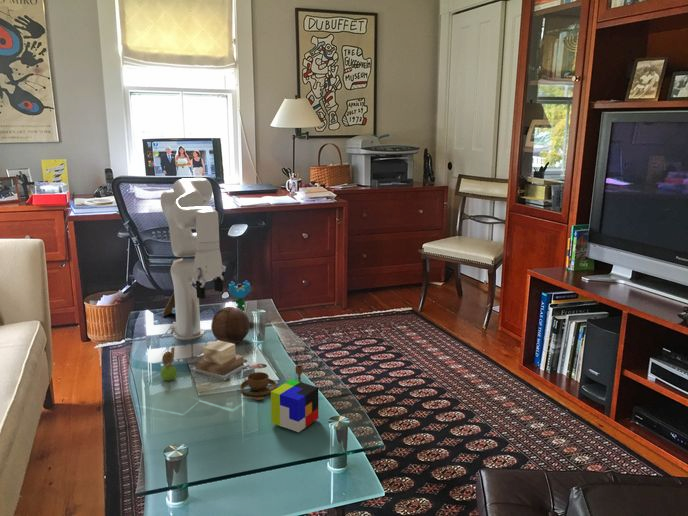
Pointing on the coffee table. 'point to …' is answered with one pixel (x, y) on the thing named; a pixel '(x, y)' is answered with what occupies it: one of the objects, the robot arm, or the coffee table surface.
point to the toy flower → (239, 292)
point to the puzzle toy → (294, 405)
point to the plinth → (220, 367)
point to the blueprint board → (223, 375)
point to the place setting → (263, 383)
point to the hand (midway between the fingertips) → (210, 294)
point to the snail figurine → (168, 366)
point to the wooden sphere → (230, 325)
